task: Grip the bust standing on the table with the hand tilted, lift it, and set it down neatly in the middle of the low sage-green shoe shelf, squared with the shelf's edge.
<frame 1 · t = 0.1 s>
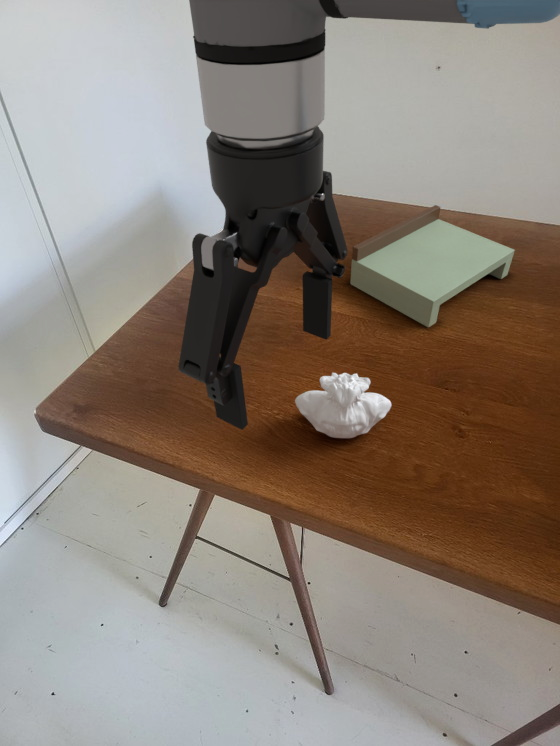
hand: (278, 373, 47), 19 cm above the table, tool pointing down, fingers open, 13 cm apart
shoe shelf: (428, 279, 91), on the table
bust: (341, 428, 67), on the table
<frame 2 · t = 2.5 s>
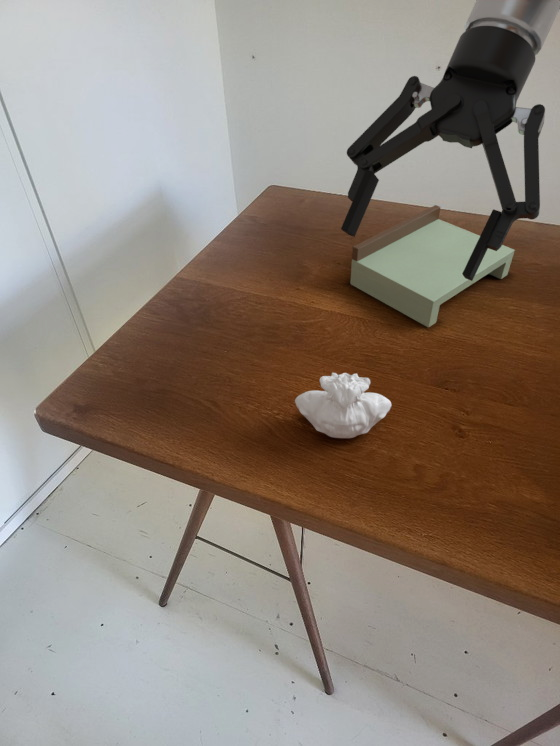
hand: (404, 254, 54), 23 cm above the table, tool tilted 40°, fingers open, 13 cm apart
nothing on the table moved.
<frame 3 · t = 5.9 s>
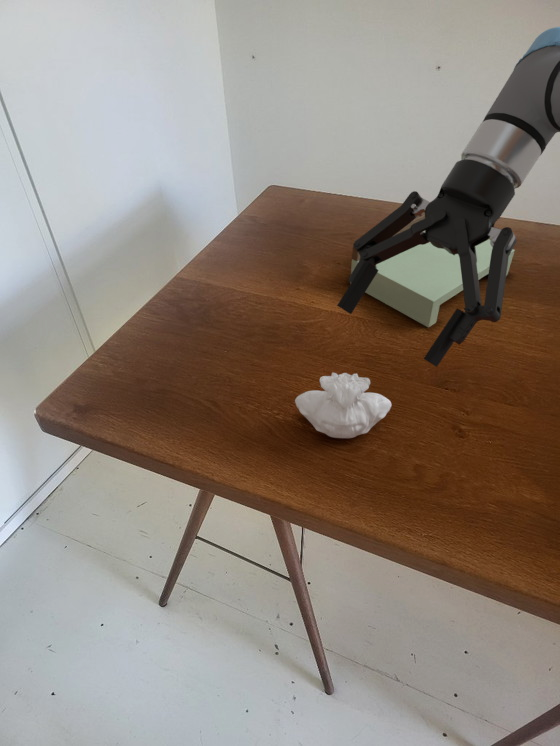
hand: (384, 335, 62), 12 cm above the table, tool tilted 45°, fingers open, 13 cm apart
nothing on the table moved.
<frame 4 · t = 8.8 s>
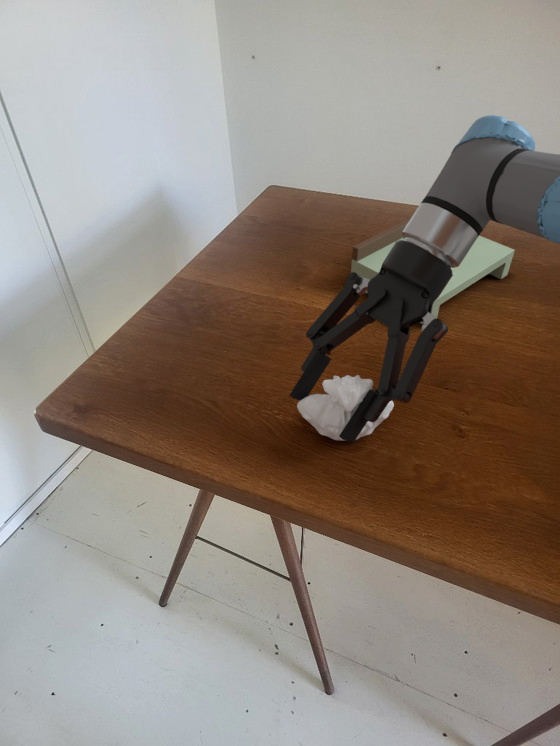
hand: (320, 417, 63), 4 cm above the table, tool tilted 45°, fingers closed on bust, 8 cm apart
bust: (344, 431, 67), on the table, touching gripper
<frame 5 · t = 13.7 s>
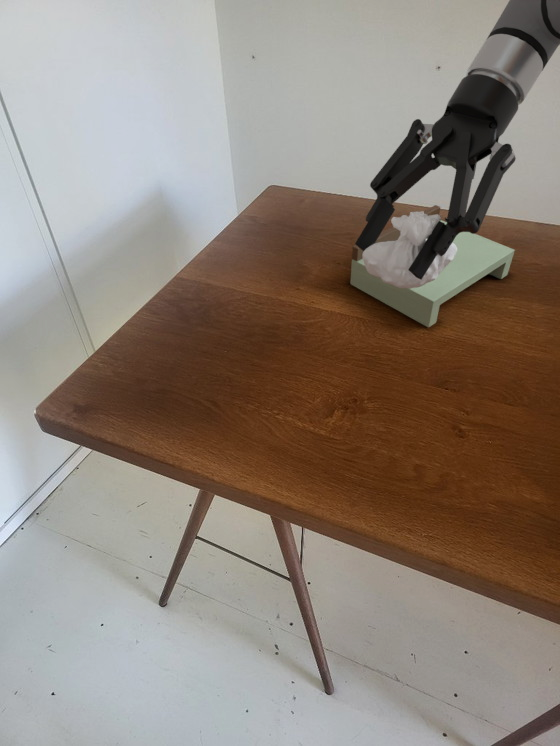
hand: (387, 261, 65), 17 cm above the table, tool tilted 45°, fingers closed on bust, 8 cm apart
bust: (407, 283, 69), point 12 cm above the table, touching gripper
when the fingers open (9 cm above the table, at t = 18.8 s): bust stays where it is, resting on shoe shelf.
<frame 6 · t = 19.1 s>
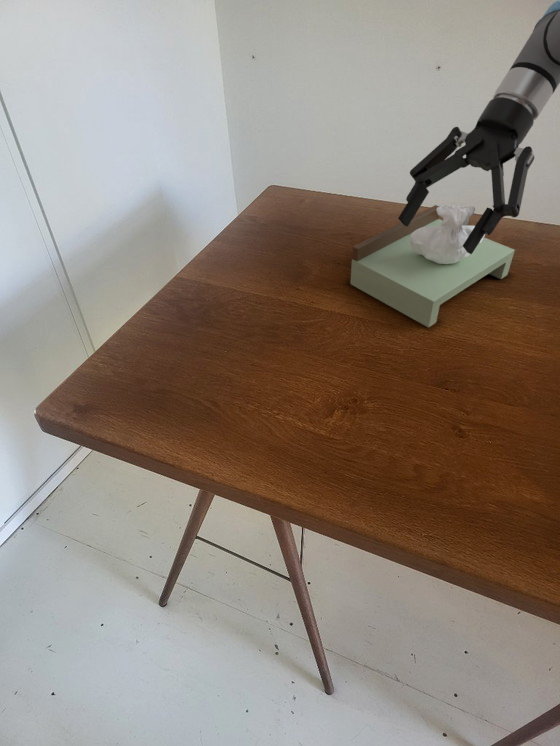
hand: (433, 235, 83), 10 cm above the table, tool tilted 45°, fingers open, 12 cm apart
bust: (443, 260, 87), point 5 cm above the table, touching shoe shelf
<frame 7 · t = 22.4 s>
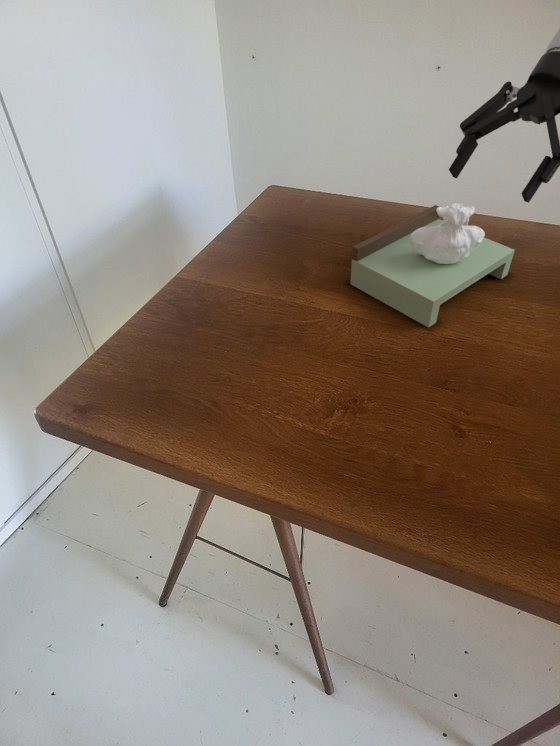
hand: (487, 185, 86), 14 cm above the table, tool tilted 45°, fingers open, 13 cm apart
nothing on the table moved.
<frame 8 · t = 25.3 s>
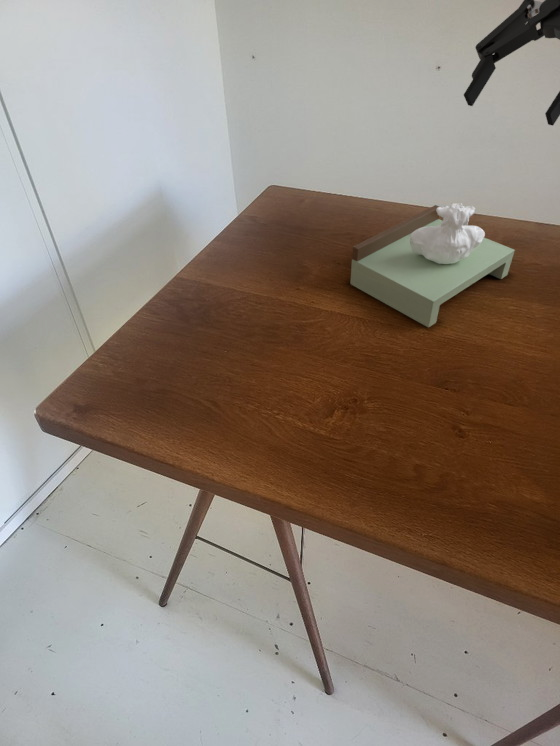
hand: (506, 110, 78), 26 cm above the table, tool tilted 45°, fingers open, 13 cm apart
nothing on the table moved.
at the end: bust inside the target area on the shoe shelf (2.1 cm from its centre), point 4.8 cm above the shoe shelf's base; bust tilted 0°; the gripper is holding nothing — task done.
